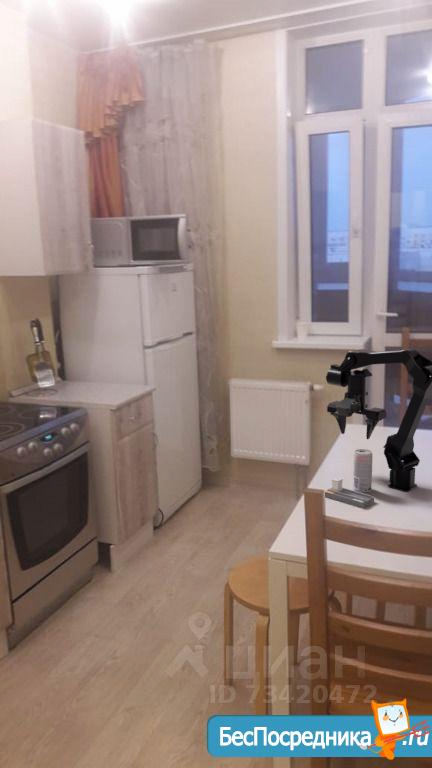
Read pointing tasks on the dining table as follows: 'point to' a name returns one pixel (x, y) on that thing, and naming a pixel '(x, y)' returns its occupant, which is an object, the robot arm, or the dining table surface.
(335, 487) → the switch knob
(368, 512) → the dining table surface
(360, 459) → the energy drink
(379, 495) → the dining table surface
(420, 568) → the dining table surface
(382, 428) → the dining table surface
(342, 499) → the switch plate
